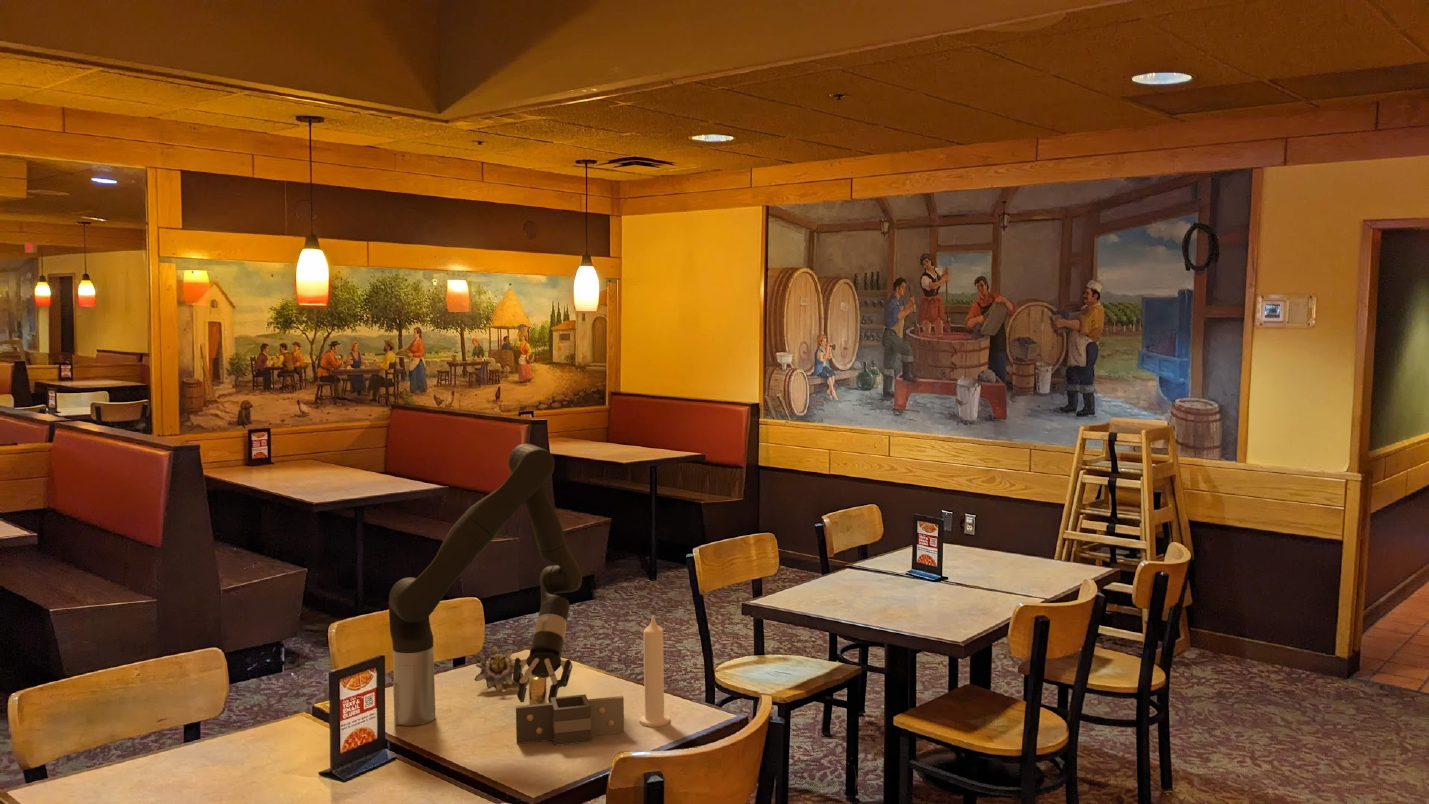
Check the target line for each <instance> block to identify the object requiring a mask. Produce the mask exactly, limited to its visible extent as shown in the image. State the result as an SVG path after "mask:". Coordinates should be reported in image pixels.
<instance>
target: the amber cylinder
mask: <svg viewBox="0 0 1429 804" xmlns="http://www.w3.org/2000/svg"><path fill="white" fill-rule="evenodd" d="M528 696H529V697H528V698H529V702H528V705H535V704H545V703H547V702H548V701H547V700H548V696H547V678H546V676H544V675H533V676H530V677H529V684H528Z"/></svg>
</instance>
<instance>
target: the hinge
mask: <svg viewBox="0 0 1429 804" xmlns="http://www.w3.org/2000/svg"><path fill="white" fill-rule="evenodd" d="M624 705H625V702H624V696H623V695H620V696H609V697H598V698H588V697H587V695H586V694H585V693H584V694H576V695H567V696H557V697H553V698H550V703H549V702H548V703H545V704H535V705H529V704H526V705H518V706H517V705H516V706H515V725H516V727H515V730H516V731H515V732H516V734H515V735H516V736H515V737H516V738H515V739H516V744H525V743H535V742H542V741H543V740H546V741H553V743H554V746H559V745H560V746H561V744H563V745H570V743H573V744H580V743H591V742H592V736H600V735H611V734H618V733H620V732H621V733H624V732H625V709H624V708H625V707H624ZM543 742H544V741H543Z"/></svg>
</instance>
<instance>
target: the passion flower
mask: <svg viewBox="0 0 1429 804" xmlns="http://www.w3.org/2000/svg"><path fill="white" fill-rule="evenodd" d="M500 652H501V651H500V650H499V648H498V646H495V645H494V646H493V647H492V649H491V651H490V652H488V654H485V655H483V654H480V655H479V658H478V657H477V656H476V657H475V660H476V661H477V664H475V666H476V667H477V668H479V669H480V673H478V674H477V675H476V676H475V677H474V681H475V682H479V681H482V680H485V681H486V687H487V689H488V690H489V689H491V688H495V690H496V691H497V692H500V691H501V689H502V686H503V683H506V684H507V685H510V686H512V685H513V682H514V681H513V672H514V664H515V659H516V658H515V659H512V656H513V650H508V651H506V652H504V653H503V652H501V653H500ZM523 676H524V673H523V669H522V670H521V678H522V677H523ZM499 690H500V691H499Z"/></svg>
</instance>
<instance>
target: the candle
mask: <svg viewBox="0 0 1429 804" xmlns="http://www.w3.org/2000/svg"><path fill="white" fill-rule="evenodd" d="M650 619H651V621H650V622H649V623H650V624H649V625H648V626H647V627H645V628H643V671H644V672H643V675H644V677H643V679H644V681H643V683H644V686H643V687H644V690H643V691H644V714H642V715H641V716H640V717H639V718H638V719H639V724H641V725H642V726H644V725H645V727H653V728H657V727H662V726H666V725H668V724H669V723H670V721H671V720H670V719H671V717H670V716H669V715H668V714H665V679H664V678H665V677H664V673H665V671H664V662H665V661H664V630H663V628H662V627H661V626H659V625H658V624H657V622H656V618H655V615H651V618H650Z"/></svg>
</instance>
